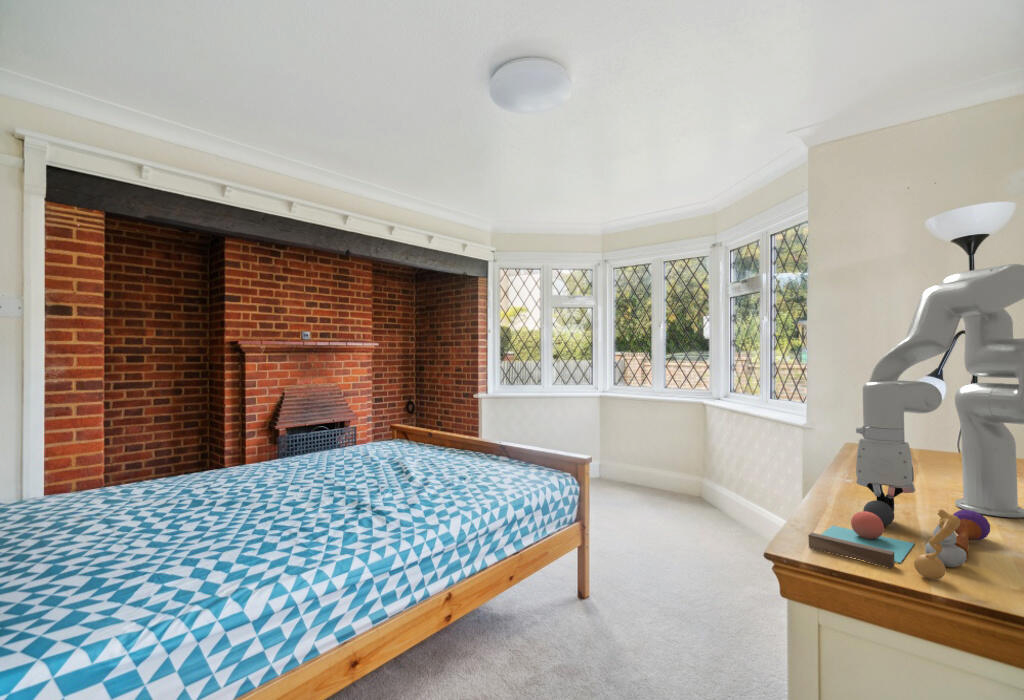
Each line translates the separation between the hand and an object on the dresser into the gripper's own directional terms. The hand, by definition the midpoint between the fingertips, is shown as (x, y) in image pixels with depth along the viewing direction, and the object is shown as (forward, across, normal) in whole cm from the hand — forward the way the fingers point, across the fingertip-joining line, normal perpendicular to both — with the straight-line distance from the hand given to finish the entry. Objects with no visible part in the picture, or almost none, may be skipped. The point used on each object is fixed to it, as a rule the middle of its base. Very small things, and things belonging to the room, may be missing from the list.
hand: (885, 513), depth 109 cm
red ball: (-1, 0, -17) cm, 17 cm away
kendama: (+2, +14, -8) cm, 16 cm away
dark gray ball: (-1, 0, -6) cm, 6 cm away
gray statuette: (+2, +12, -22) cm, 25 cm away
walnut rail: (+2, 0, -31) cm, 31 cm away
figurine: (+2, +12, -32) cm, 34 cm away
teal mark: (+2, 0, -21) cm, 21 cm away
